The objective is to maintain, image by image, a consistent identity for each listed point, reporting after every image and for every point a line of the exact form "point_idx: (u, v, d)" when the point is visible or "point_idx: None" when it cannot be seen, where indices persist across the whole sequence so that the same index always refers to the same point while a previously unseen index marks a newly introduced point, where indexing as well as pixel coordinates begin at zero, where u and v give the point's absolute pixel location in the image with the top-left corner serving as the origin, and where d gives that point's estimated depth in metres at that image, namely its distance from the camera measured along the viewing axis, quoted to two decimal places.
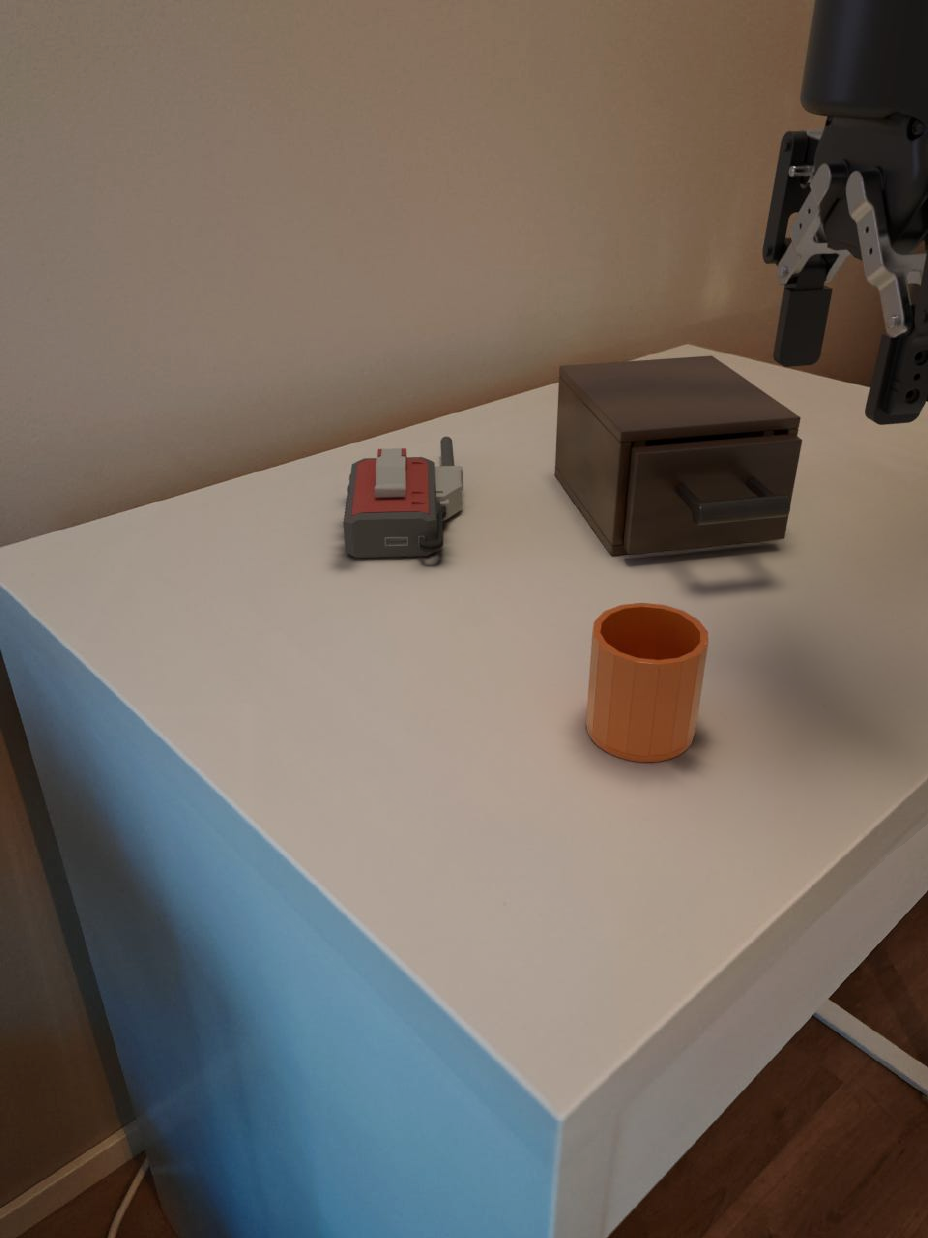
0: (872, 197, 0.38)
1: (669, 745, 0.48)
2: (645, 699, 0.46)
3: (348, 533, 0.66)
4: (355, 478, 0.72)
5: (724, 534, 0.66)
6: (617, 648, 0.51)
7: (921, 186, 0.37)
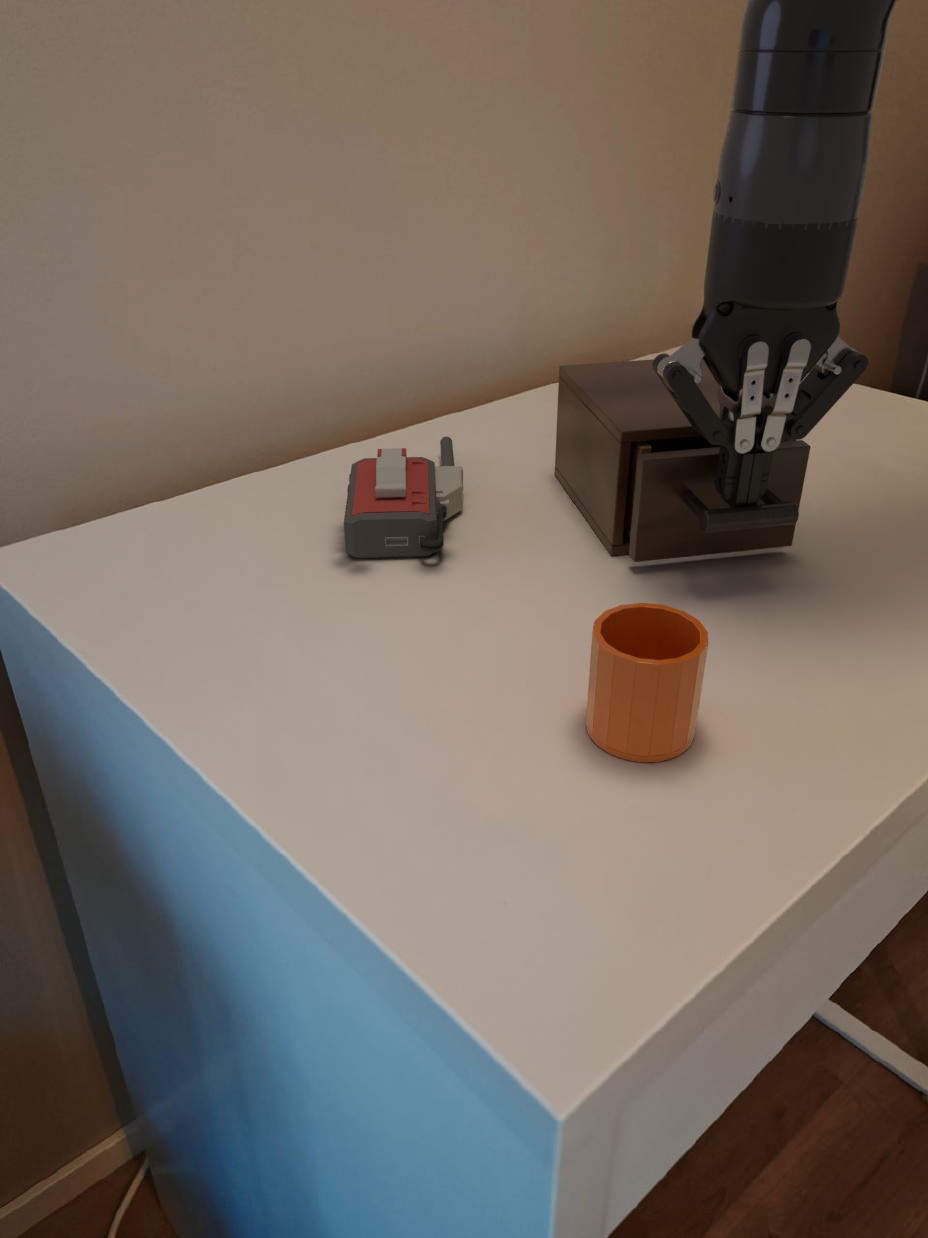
0: None
1: (669, 745, 0.48)
2: (645, 699, 0.46)
3: (348, 533, 0.66)
4: (356, 478, 0.72)
5: (731, 541, 0.65)
6: (617, 648, 0.51)
7: (692, 335, 0.55)
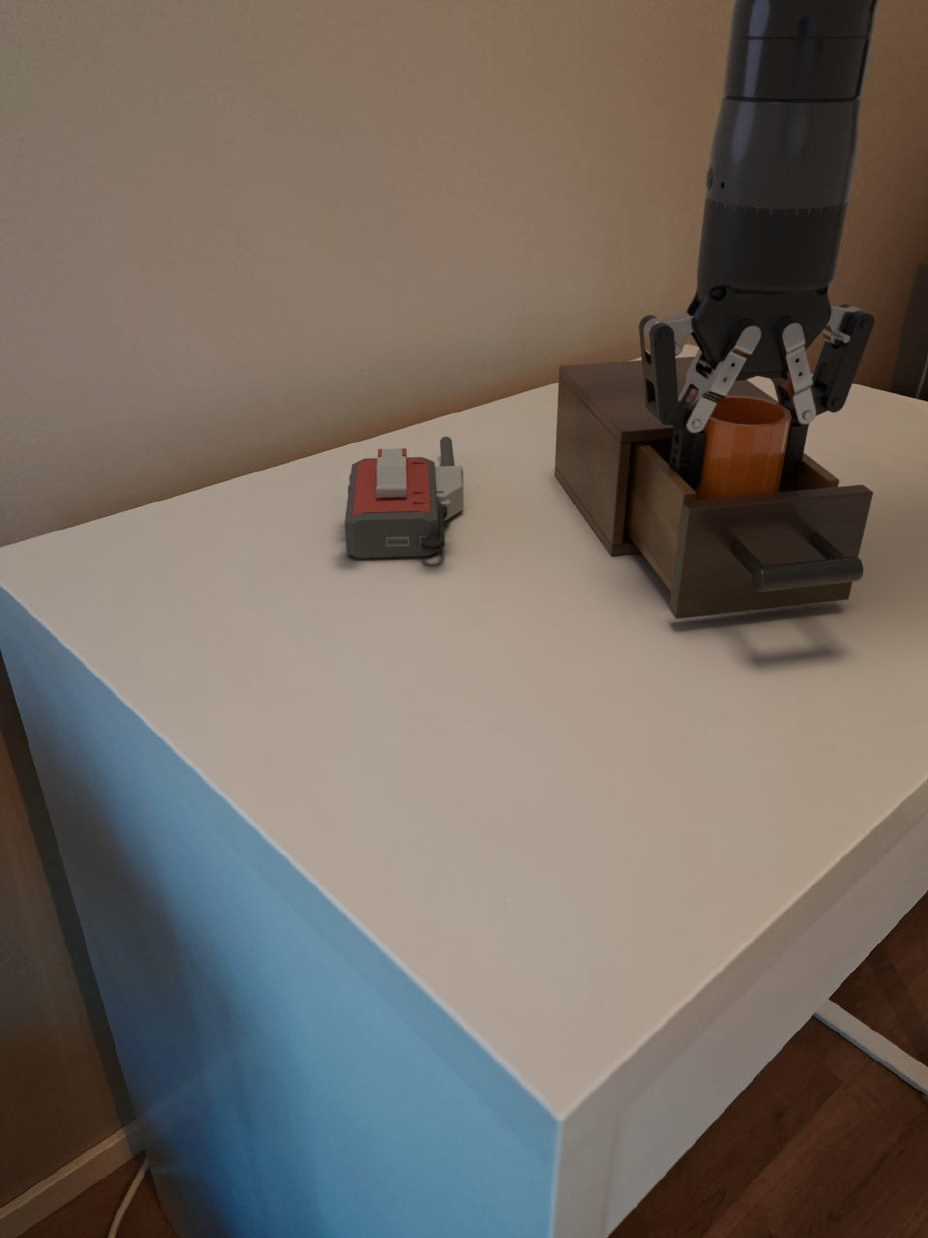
0: None
1: None
2: (741, 460, 0.58)
3: (349, 533, 0.66)
4: (356, 478, 0.72)
5: (782, 595, 0.59)
6: None
7: None
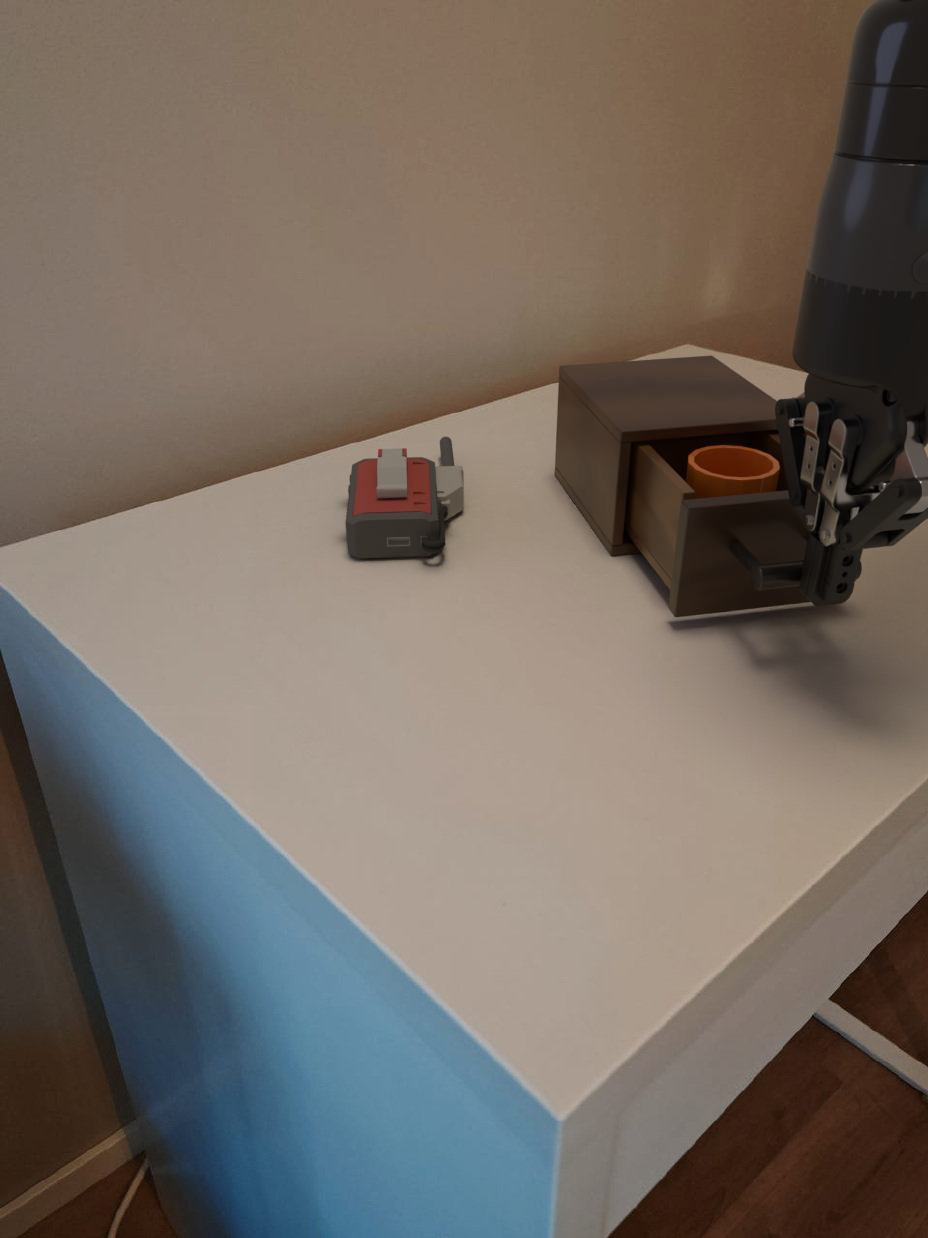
0: (846, 452, 0.46)
1: None
2: None
3: (350, 533, 0.66)
4: (356, 479, 0.72)
5: (781, 594, 0.59)
6: None
7: (894, 444, 0.43)
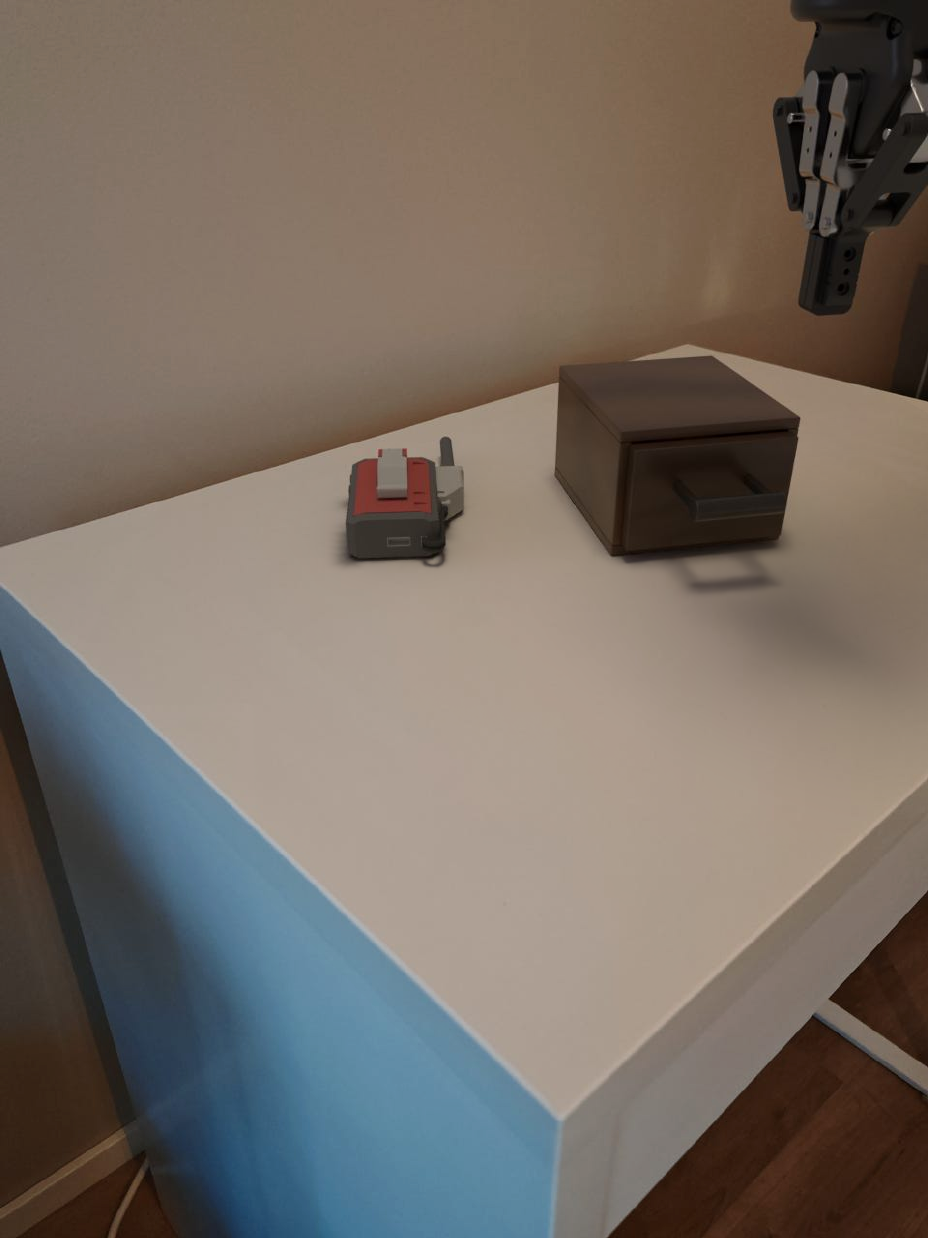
0: (848, 110, 0.43)
1: None
2: None
3: (350, 533, 0.66)
4: (357, 479, 0.72)
5: (721, 531, 0.66)
6: None
7: (900, 81, 0.40)
